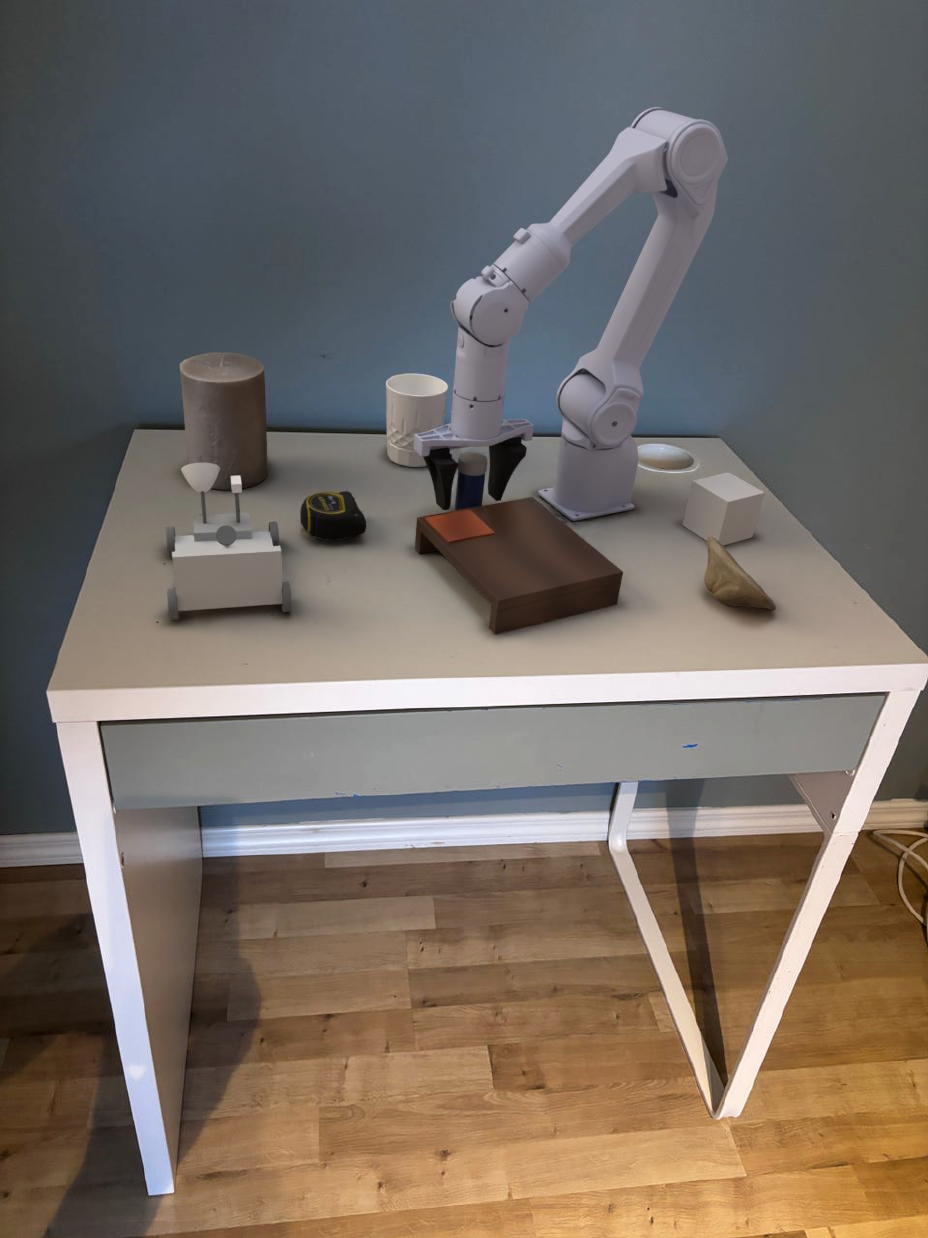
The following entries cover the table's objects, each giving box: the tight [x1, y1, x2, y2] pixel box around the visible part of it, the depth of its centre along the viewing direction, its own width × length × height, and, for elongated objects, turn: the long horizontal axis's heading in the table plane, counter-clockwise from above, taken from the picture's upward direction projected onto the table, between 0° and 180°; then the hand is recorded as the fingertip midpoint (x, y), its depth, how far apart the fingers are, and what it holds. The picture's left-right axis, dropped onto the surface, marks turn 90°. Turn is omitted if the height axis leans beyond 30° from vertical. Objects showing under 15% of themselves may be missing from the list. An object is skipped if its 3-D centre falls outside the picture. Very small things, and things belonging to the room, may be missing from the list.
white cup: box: [385, 373, 449, 468], centre depth 127 cm, size 8×8×10 cm
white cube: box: [682, 471, 765, 546], centre depth 118 cm, size 6×6×6 cm
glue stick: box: [454, 451, 488, 511], centre depth 116 cm, size 3×3×8 cm
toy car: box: [165, 456, 293, 621], centre depth 100 cm, size 18×10×12 cm
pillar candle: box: [179, 352, 269, 491], centre depth 118 cm, size 10×10×15 cm
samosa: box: [703, 536, 777, 611], centre depth 105 cm, size 9×4×10 cm
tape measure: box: [299, 490, 367, 541], centre depth 111 cm, size 7×7×4 cm
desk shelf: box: [414, 496, 624, 635], centre depth 106 cm, size 15×18×4 cm
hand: (468, 501), depth 117 cm, fingers open, 6 cm apart
